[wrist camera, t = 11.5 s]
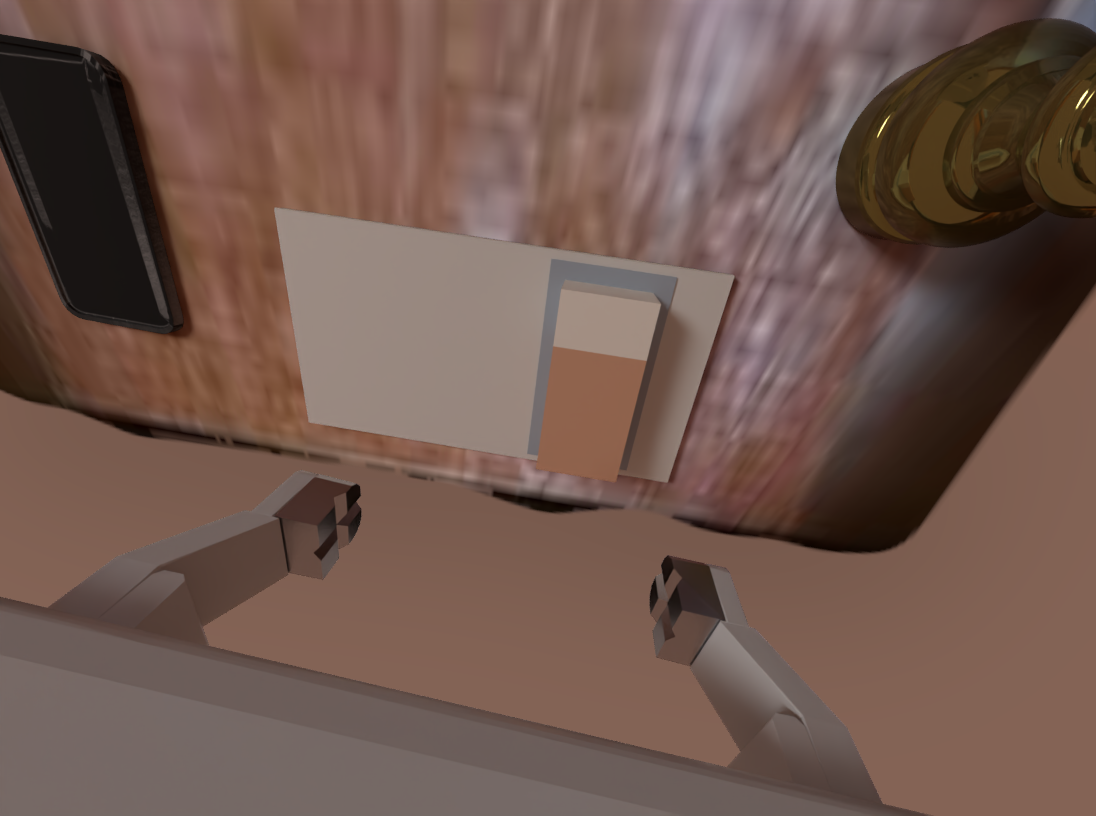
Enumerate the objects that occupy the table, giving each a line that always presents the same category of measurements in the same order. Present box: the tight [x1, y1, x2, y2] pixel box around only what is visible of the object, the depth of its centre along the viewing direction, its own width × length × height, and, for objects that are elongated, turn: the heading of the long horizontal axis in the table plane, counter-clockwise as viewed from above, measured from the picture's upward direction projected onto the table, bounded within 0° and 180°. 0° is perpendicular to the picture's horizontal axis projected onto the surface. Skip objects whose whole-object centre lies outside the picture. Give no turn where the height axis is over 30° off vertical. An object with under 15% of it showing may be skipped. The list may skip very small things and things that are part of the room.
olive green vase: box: [836, 18, 1096, 248], centre depth 15 cm, size 7×8×10 cm
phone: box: [0, 34, 184, 334], centre depth 24 cm, size 8×1×15 cm
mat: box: [274, 208, 735, 483], centre depth 26 cm, size 14×26×1 cm, turn 83°
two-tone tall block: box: [536, 280, 661, 482], centre depth 24 cm, size 11×5×3 cm, turn 173°
